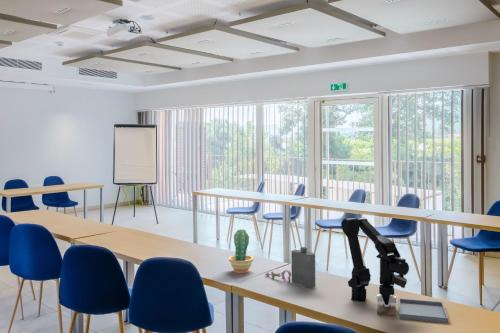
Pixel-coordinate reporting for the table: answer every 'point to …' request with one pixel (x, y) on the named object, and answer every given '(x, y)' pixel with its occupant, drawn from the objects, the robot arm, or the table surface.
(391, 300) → the gray rectangular block
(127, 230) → the table surface
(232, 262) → the potted cactus
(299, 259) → the flask
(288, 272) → the decorative key
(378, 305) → the socket block
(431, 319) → the tray
